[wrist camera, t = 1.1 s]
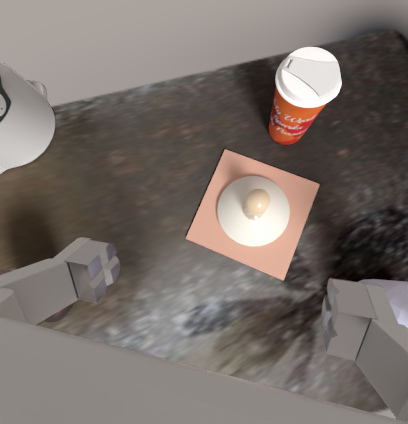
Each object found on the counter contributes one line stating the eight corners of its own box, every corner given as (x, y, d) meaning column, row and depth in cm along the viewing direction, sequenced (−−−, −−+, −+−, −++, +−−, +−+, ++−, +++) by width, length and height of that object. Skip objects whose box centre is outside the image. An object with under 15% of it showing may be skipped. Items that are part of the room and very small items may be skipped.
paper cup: (254, 139, 46) (266, 85, 32) (274, 101, 47) (294, 33, 33) (297, 159, 45) (329, 112, 31) (317, 120, 46) (357, 57, 32)
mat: (185, 238, 44) (185, 238, 43) (225, 150, 46) (224, 149, 46) (283, 280, 41) (283, 280, 41) (318, 184, 44) (319, 184, 43)
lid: (206, 230, 43) (202, 222, 36) (233, 167, 45) (234, 147, 37) (273, 258, 42) (284, 256, 34) (298, 192, 43) (314, 176, 36)
